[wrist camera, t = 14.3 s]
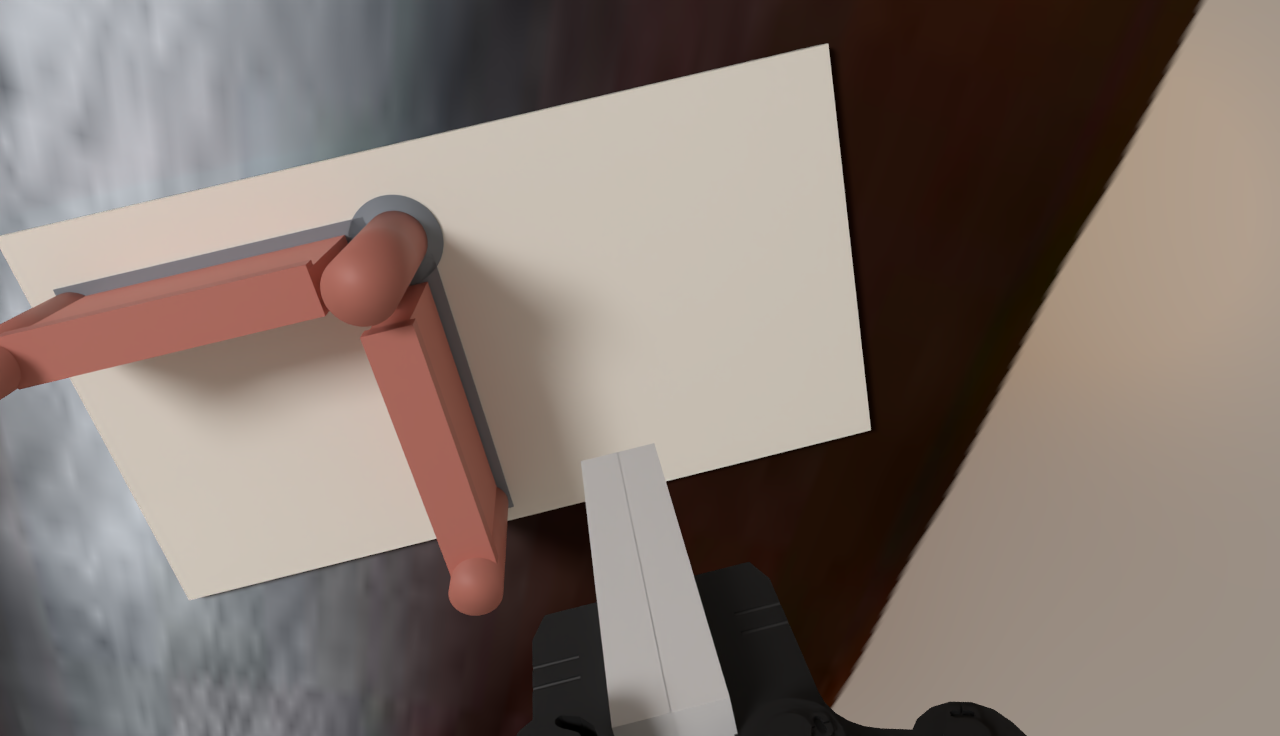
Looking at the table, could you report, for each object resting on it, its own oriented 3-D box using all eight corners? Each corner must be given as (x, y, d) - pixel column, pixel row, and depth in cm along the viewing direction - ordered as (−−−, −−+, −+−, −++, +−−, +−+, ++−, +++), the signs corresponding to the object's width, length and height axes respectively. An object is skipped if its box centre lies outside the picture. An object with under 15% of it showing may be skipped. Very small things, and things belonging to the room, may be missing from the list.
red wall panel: (385, 291, 32) (351, 347, 26) (435, 279, 32) (412, 332, 26) (470, 527, 36) (458, 621, 30) (513, 516, 36) (509, 607, 30)
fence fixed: (35, 293, 30) (-99, 358, 24) (417, 203, 31) (385, 244, 24) (66, 350, 31) (-56, 428, 25) (435, 262, 32) (410, 316, 25)
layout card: (2, 235, 30) (-8, 238, 29) (824, 43, 31) (829, 43, 30) (193, 593, 37) (188, 601, 36) (866, 425, 38) (871, 431, 37)
